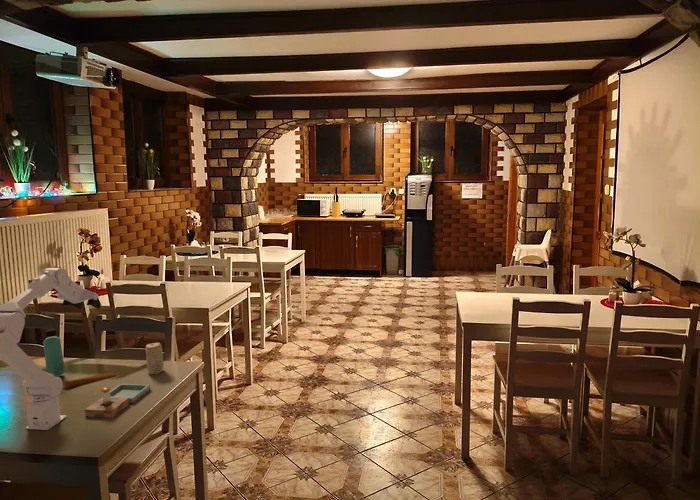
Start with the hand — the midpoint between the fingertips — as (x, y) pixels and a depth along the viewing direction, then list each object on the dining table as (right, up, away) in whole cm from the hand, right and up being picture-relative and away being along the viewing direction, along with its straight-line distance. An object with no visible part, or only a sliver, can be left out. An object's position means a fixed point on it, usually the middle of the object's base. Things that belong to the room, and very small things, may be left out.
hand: (90, 306), depth 201 cm
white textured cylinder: (+17, -29, +20) cm, 39 cm away
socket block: (+13, -34, -15) cm, 40 cm away
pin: (+13, -34, -15) cm, 40 cm away
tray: (+15, -33, -3) cm, 36 cm away
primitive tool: (-6, -32, +13) cm, 35 cm away
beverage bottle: (-22, -31, +18) cm, 42 cm away
